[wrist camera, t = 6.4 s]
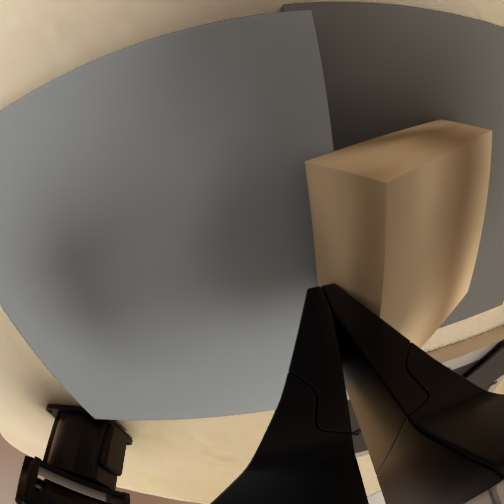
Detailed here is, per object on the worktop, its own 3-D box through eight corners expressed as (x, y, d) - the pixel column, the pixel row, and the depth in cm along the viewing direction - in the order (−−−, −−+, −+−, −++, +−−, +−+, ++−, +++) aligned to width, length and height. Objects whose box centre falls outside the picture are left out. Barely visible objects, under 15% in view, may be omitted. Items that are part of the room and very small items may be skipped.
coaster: (322, 363, 12) (366, 400, 10) (304, 161, 8) (386, 183, 6) (429, 272, 15) (467, 291, 13) (440, 119, 11) (492, 130, 9)
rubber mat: (323, 351, 18) (325, 359, 18) (281, 7, 9) (283, 4, 8) (498, 299, 18) (502, 304, 17) (526, 37, 8) (534, 38, 8)
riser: (108, 369, 18) (94, 418, 15) (-11, 136, 10) (-66, 163, 7) (323, 341, 18) (339, 397, 14) (285, 30, 9) (311, 9, 6)
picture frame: (522, 310, 20) (313, 370, 20) (538, 330, 18) (320, 403, 18) (468, 402, 28) (309, 450, 29) (477, 420, 26) (313, 472, 26)
